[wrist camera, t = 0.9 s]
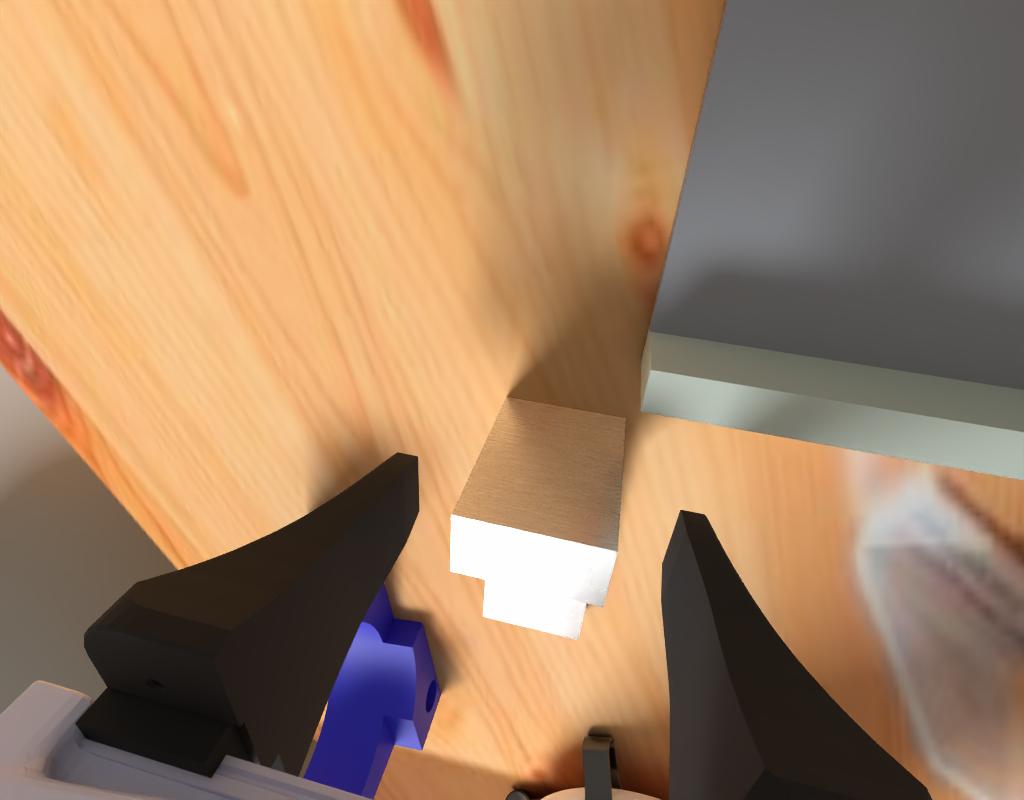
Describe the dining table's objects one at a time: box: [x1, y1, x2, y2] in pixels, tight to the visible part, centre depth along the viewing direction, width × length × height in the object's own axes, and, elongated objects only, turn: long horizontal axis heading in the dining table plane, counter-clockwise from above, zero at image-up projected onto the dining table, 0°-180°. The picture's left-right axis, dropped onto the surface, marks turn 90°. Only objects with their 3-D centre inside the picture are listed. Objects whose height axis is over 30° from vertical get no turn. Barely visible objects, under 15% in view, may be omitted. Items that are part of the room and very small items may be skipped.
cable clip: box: [303, 583, 441, 800], centre depth 23 cm, size 12×4×6 cm, turn 5°
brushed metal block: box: [451, 397, 626, 640], centre depth 17 cm, size 10×4×6 cm, turn 176°
